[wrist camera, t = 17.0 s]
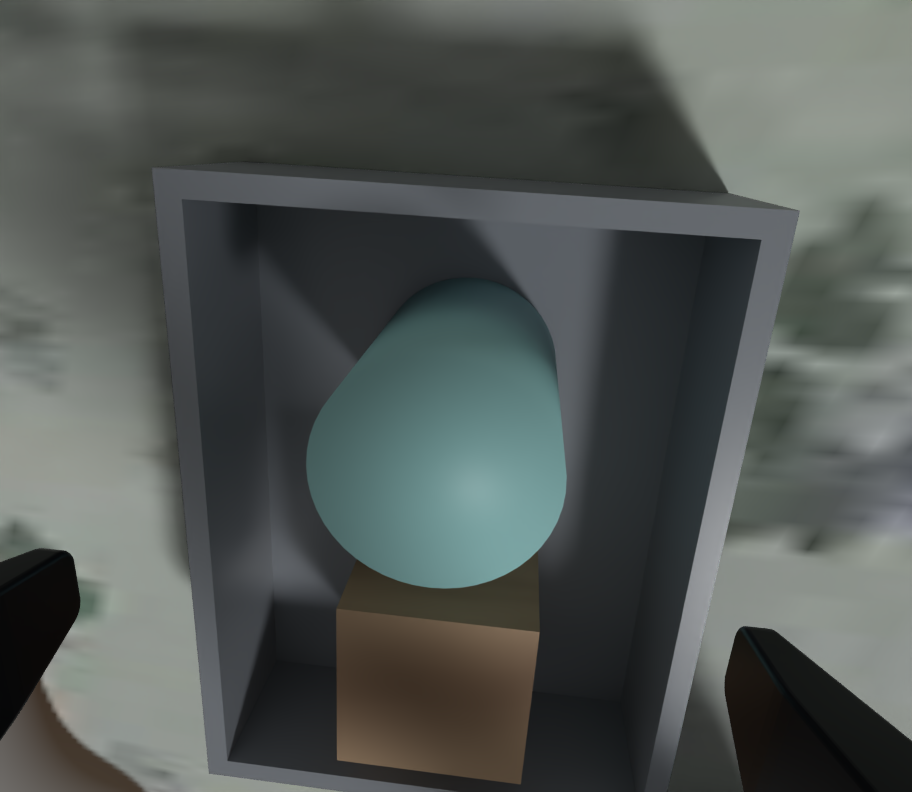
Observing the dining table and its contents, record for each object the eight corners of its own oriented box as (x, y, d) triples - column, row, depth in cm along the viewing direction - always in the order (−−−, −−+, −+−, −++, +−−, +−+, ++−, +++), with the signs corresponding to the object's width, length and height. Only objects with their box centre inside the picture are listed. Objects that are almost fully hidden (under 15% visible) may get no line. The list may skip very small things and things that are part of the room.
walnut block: (522, 653, 23) (520, 784, 18) (375, 636, 23) (336, 760, 19) (537, 523, 21) (539, 632, 16) (378, 507, 21) (336, 608, 17)
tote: (632, 699, 24) (657, 833, 19) (268, 656, 25) (208, 773, 20) (729, 193, 18) (799, 210, 13) (244, 161, 19) (151, 167, 14)
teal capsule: (546, 451, 20) (552, 602, 14) (380, 435, 21) (309, 573, 14) (565, 284, 18) (582, 366, 12) (383, 270, 19) (302, 342, 12)
